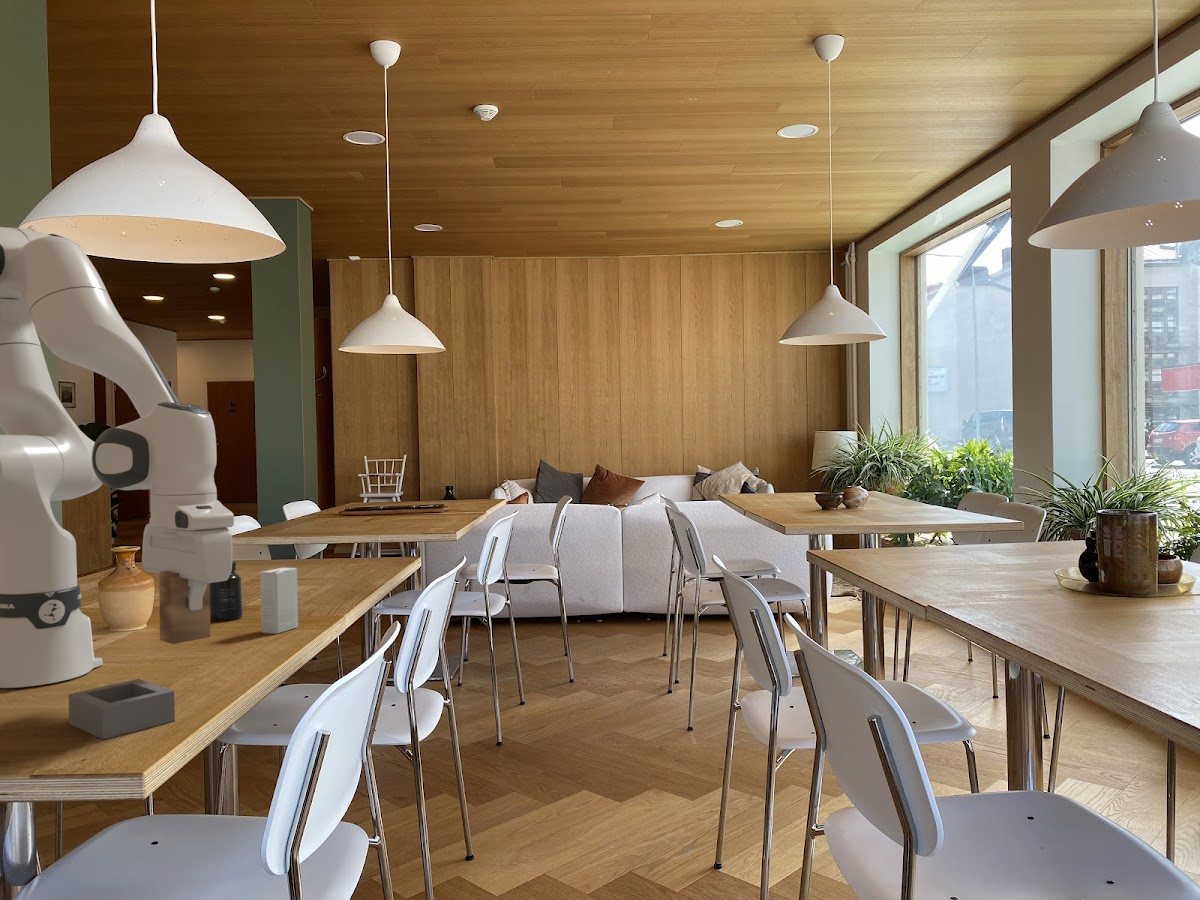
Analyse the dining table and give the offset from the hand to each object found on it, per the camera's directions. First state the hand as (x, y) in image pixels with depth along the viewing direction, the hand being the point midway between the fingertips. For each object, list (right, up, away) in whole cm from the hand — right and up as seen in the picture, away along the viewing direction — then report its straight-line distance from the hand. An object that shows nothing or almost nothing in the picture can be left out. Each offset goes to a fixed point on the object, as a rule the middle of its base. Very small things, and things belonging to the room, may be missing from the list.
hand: (185, 607), depth 130 cm
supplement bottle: (-19, -13, +58) cm, 62 cm away
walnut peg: (0, -5, 0) cm, 5 cm away
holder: (-3, -13, -12) cm, 18 cm away
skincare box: (-2, -13, +44) cm, 46 cm away
